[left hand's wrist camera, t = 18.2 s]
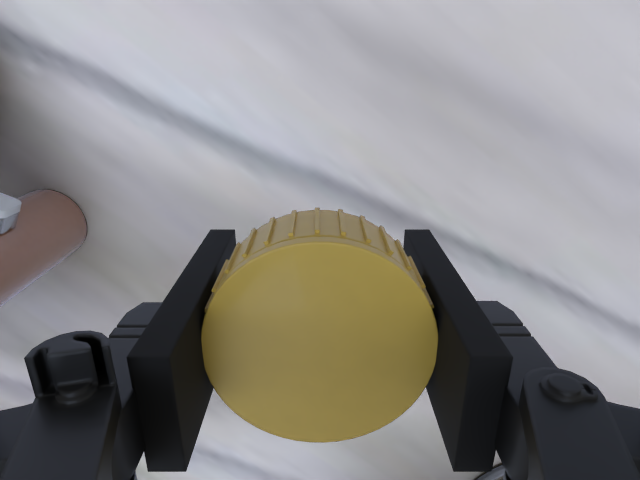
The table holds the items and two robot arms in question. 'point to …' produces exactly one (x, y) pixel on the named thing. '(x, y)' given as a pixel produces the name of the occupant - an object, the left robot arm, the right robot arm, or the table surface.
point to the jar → (38, 239)
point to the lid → (319, 328)
